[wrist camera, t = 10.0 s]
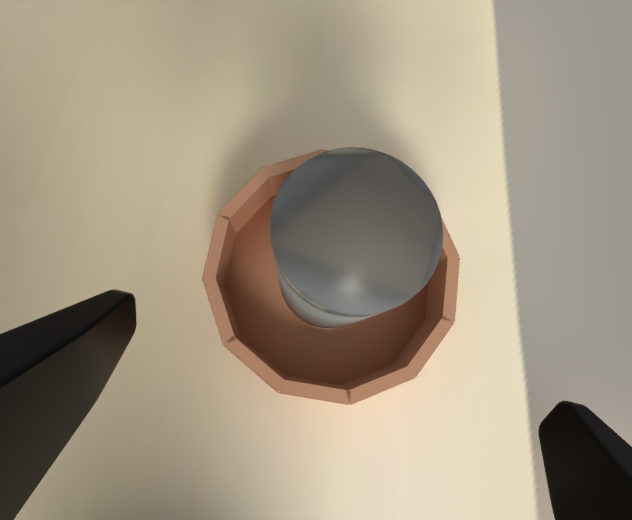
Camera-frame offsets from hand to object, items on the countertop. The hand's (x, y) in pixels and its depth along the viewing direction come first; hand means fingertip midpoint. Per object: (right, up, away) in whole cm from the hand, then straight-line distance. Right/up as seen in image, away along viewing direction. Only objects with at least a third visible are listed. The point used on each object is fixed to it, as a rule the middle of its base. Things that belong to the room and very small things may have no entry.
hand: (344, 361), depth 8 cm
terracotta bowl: (0, +1, +14) cm, 14 cm away
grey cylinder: (0, +1, +13) cm, 13 cm away
